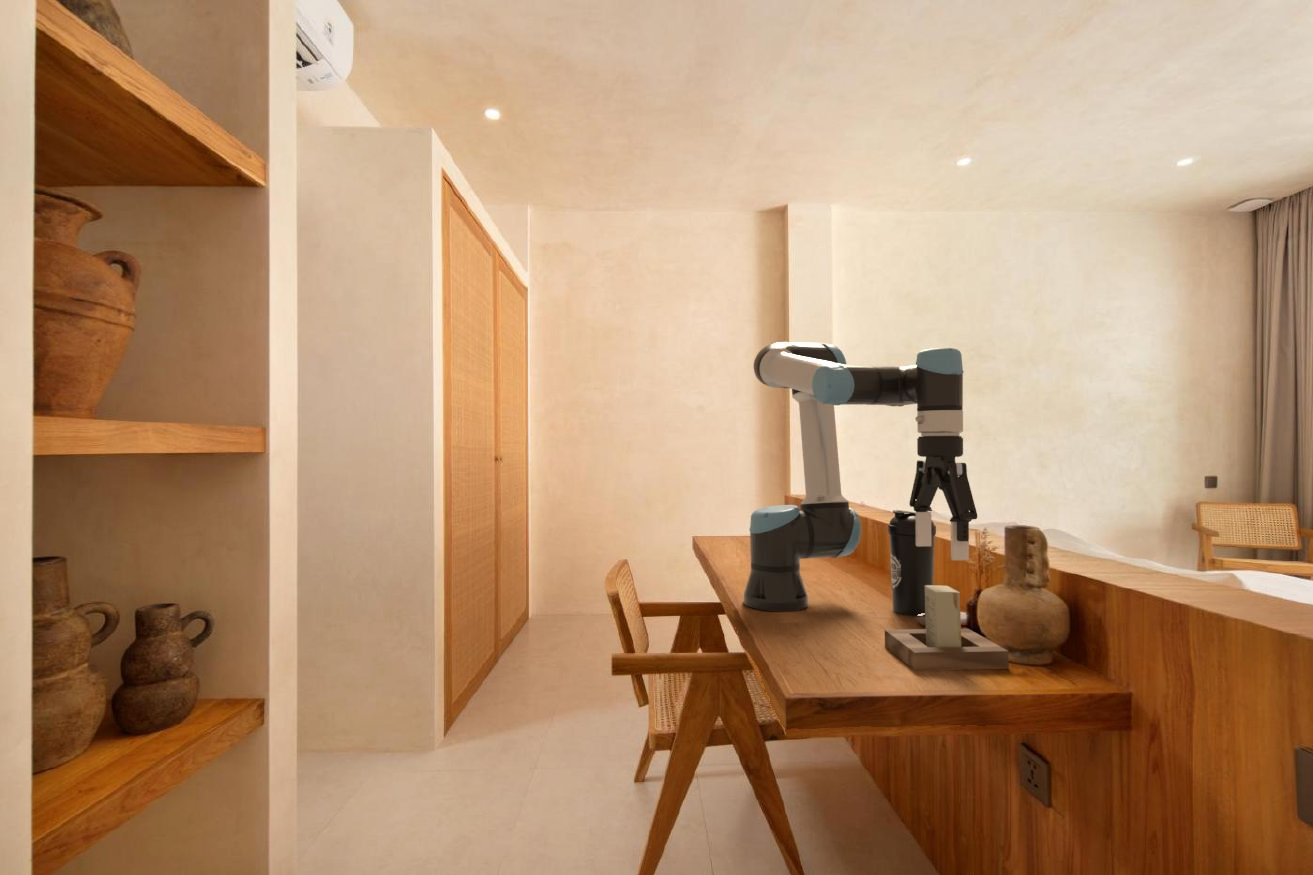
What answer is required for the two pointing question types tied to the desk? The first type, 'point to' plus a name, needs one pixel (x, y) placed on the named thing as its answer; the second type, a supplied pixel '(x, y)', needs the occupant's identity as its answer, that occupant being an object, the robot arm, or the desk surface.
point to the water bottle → (909, 564)
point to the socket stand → (946, 651)
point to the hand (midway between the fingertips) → (940, 552)
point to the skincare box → (942, 616)
